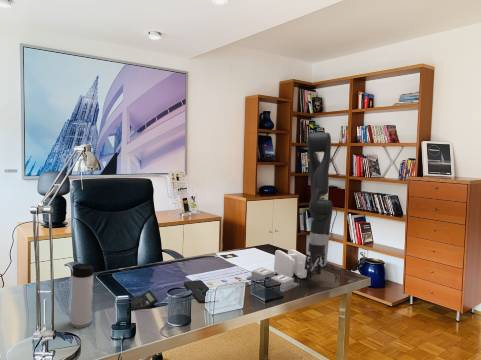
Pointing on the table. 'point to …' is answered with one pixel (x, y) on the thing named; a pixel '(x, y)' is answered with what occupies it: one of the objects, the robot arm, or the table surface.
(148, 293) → the calculator
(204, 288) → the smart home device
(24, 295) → the table surface
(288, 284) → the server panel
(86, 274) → the travel mug
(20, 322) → the table surface
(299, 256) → the cable organizer
